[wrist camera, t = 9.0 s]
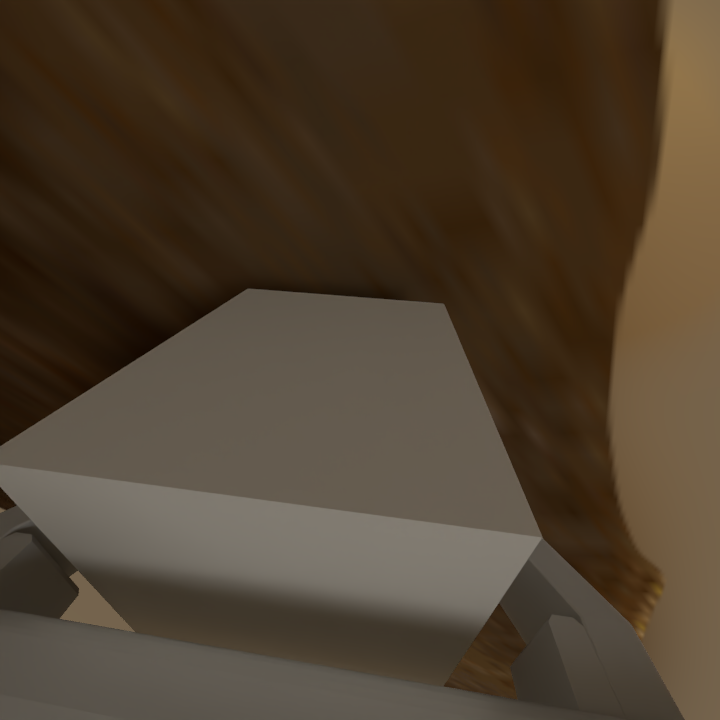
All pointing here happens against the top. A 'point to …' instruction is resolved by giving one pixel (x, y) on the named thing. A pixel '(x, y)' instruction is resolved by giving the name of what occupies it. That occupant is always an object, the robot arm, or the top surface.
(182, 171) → the top surface
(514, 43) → the top surface
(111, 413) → the grey matte cube
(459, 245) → the top surface
